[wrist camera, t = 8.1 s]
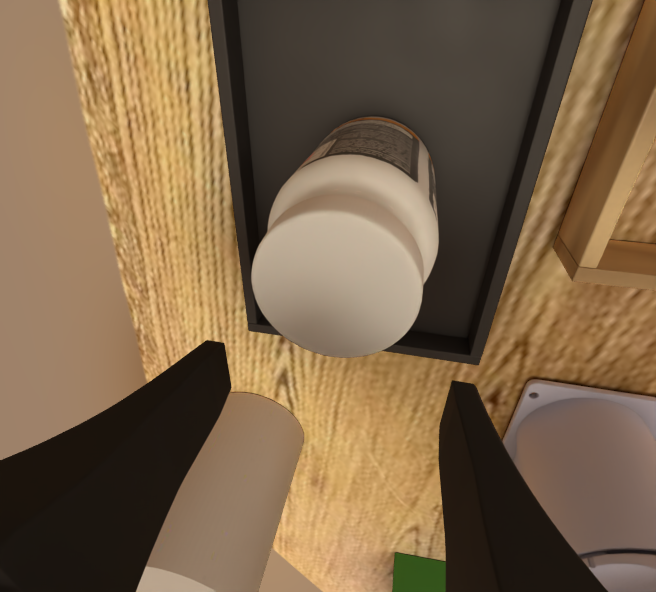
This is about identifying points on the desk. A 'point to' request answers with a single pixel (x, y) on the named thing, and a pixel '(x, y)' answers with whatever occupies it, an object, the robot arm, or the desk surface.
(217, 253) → the desk surface
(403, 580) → the hardback book
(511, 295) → the desk surface
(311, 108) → the tray
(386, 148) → the pill bottle
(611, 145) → the wooden frame
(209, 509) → the off-white cylinder
